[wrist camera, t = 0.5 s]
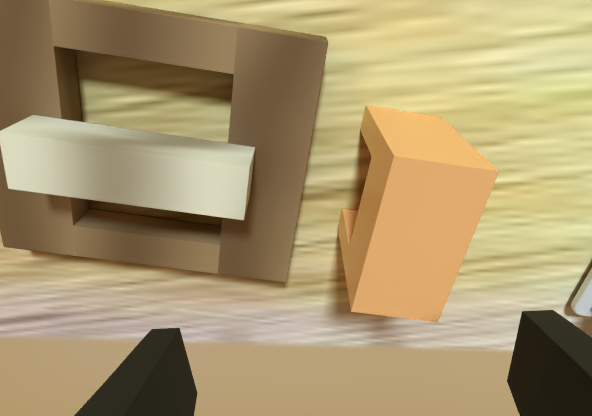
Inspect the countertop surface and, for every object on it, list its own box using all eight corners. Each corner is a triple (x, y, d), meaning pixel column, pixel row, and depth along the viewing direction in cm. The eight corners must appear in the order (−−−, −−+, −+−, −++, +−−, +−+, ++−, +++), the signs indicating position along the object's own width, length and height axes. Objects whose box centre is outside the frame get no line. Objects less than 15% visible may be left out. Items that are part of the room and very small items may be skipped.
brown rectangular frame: (325, 37, 15) (332, 50, 12) (286, 262, 20) (284, 313, 17) (-19, -20, 14) (-106, -21, 11) (24, 228, 19) (-29, 275, 16)
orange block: (440, 116, 17) (499, 171, 12) (402, 236, 19) (437, 322, 14) (365, 105, 16) (393, 155, 12) (337, 228, 19) (350, 311, 14)
